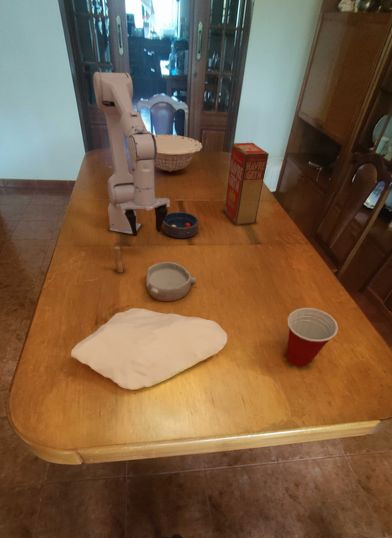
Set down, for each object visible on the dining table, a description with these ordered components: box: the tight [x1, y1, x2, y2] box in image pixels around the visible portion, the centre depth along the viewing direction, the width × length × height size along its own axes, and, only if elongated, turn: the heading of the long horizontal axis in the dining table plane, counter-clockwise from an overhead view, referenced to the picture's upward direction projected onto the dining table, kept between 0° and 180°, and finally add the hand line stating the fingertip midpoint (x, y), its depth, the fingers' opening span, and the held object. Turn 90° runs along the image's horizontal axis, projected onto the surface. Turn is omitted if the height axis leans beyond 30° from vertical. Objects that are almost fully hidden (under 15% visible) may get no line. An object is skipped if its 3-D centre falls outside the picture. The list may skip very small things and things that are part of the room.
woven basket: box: [153, 134, 203, 173], centre depth 157 cm, size 32×32×13 cm
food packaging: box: [223, 142, 270, 226], centre depth 122 cm, size 13×9×25 cm
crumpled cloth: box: [70, 307, 229, 391], centre depth 73 cm, size 24×35×9 cm
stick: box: [113, 245, 124, 273], centre depth 96 cm, size 2×2×8 cm
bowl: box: [161, 211, 200, 239], centre depth 118 cm, size 13×13×4 cm
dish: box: [145, 261, 197, 302], centre depth 93 cm, size 14×14×5 cm
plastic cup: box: [285, 307, 339, 368], centre depth 74 cm, size 11×11×12 cm
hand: (146, 232), depth 97 cm, fingers open, 7 cm apart
